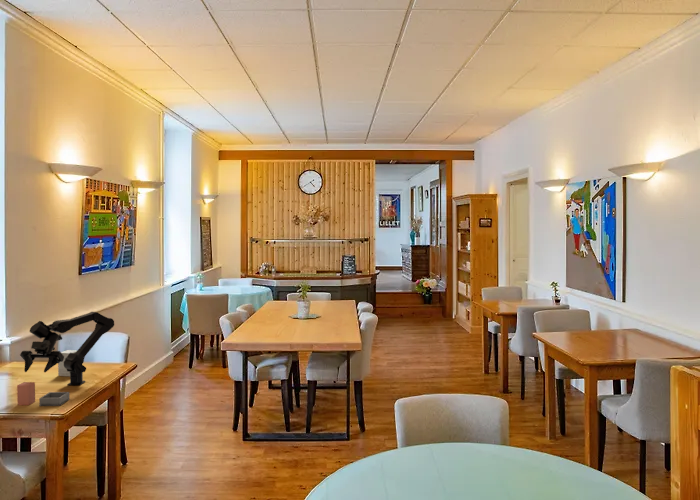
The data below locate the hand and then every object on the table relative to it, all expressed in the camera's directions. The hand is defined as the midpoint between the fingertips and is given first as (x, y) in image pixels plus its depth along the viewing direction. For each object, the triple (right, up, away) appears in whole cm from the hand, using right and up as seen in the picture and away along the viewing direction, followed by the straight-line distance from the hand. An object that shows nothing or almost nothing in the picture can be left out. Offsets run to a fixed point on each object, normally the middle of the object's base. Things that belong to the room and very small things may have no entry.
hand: (34, 371), depth 248 cm
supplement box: (-6, -11, +41) cm, 43 cm away
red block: (0, -13, -6) cm, 14 cm away
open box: (+12, -13, -5) cm, 19 cm away
